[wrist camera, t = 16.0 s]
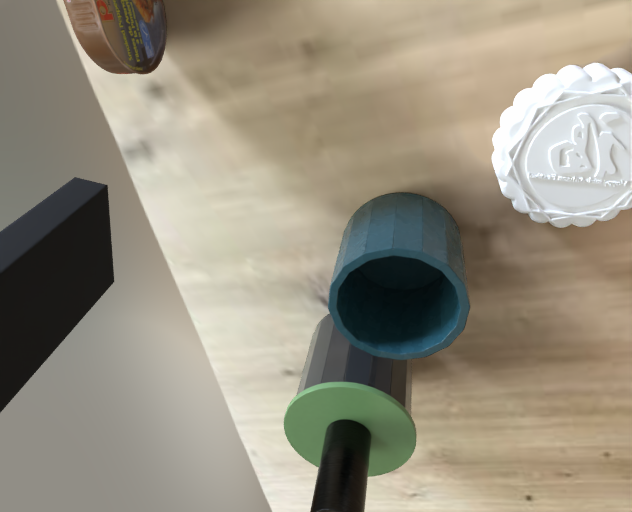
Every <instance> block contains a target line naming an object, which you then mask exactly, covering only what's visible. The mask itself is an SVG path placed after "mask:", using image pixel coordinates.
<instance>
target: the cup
mask: <svg viewBox="0 0 632 512" xmlns="http://www.w3.org/2000/svg"><path fill="white" fill-rule="evenodd" d="M328 382H352V383H358V384H363V385H367V386H370V387H373V388H375V389H378V390H380V391H382V392H384V393H386V394H388V395H390V396H391V397H393V398H394V399H395V400H397V401H398V402H399V403H400V404H401V405H403V407H404V408H405V409H406V410H407V411H408V413H409V414H410V416H411V393H412V359H407V360H395V359H389V358H383V357H377V356H373V355H371V354H369V353H367V352H365V351H363V350H361V349H359V348H357V347H355V346H353V345H352V344H351V343H350V342H349V341H348V340H347V339H346V338H345V337H344V336H343V335H342V334H341V333H340V332H339V331H338V330H337V329H336V327H335V324H334V322H333V319H332V317H331V314H328V315H327V316H325V317H324V318H323V319H322V320H321V321H320V322H319V324H318V325H317V327H316V329H315V332H314V333H313V336H312V340H311V343H310V347H309V351H308V355H307V358H306V362H305V366H304V369H303V373H302V377H301V381H300V384H299V388H298V392H297V395H298V394H299V393H300V392H302V391H304V390H305V389H307V388H310V387H312V386H315V385H318V384H322V383H328ZM297 395H296V396H297Z"/></svg>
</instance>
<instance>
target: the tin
mask: <svg viewBox="0 0 632 512" xmlns="http://www.w3.org/2000/svg"><path fill="white" fill-rule="evenodd" d="M64 4H65V6H66V9H67V12H68V16H69V18H70V21H71V24H72V27H73V30H74V32H75V34H76V37H77V39H78V41H79V42H80V44H81V46H82V47H83V49H84V50H85V52H86V53H87V55H88V56H89V57H90V58H91V59H92V60H93V61H94V62H95V63H96V64H97V65H98V66H99V67H101V68H102V69H104V70H106V71H108V72H111V73H116V74H131V73H138V74H148V73H151V72H152V71H154V70H155V69H156V68H157V67H158V65H159V64H160V62H161V60H162V57H163V54H164V51H165V46H166V37H167V29H166V17H165V11H164V6H163V1H162V0H64Z"/></svg>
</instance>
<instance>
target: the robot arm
mask: <svg viewBox="0 0 632 512" xmlns="http://www.w3.org/2000/svg"><path fill="white" fill-rule="evenodd" d="M113 282H114V273H113V258H112V244H111V230H110V216H109V201H108V187H107V185H104V184H100V183H96V182H92V181H88V180H84V179H80V178H76V177H75V178H73V179H72V180H71V181H69V182H68V183H67V184H65V185H64V186H62V187H61V188H60V189H58V190H57V191H56V192H54V193H53V194H51V195H50V196H49V197H47V198H46V199H45V200H43V201H42V202H41V203H39V204H38V205H36V206H35V207H34V208H32V209H31V210H30V211H28V212H27V213H25V214H24V215H23V216H21V217H20V218H19V219H17V220H16V221H14V222H13V223H12V224H10V225H9V226H8V227H6V228H5V229H4V230H2V231H1V232H0V412H1V411H2V410H3V409H4V408H5V407H6V405H7V404H8V403H9V402H10V401H11V400H12V398H13V397H14V396H15V395H16V394H17V393H18V392H19V390H20V389H21V388H22V387H23V386H24V385H25V383H26V382H27V381H28V380H29V379H30V378H31V377H32V375H33V374H34V373H35V372H36V371H37V370H38V369H39V367H40V366H41V365H42V364H43V363H44V362H45V361H46V359H47V358H48V357H49V356H50V355H51V354H52V353H53V351H54V350H55V349H56V348H57V347H58V346H59V344H60V343H61V342H62V341H63V340H64V339H65V337H66V336H67V335H68V334H69V333H70V332H71V331H72V330H73V328H74V327H75V326H76V325H77V324H78V323H79V321H80V320H81V319H82V318H83V317H84V316H85V315H86V313H87V312H88V311H89V310H90V309H91V307H93V305H94V304H95V303H96V302H97V301H98V300H99V299H100V297H101V296H102V295H103V294H104V293H105V292H106V290H107V289H108V288H109V287H110V286H111V285H112V284H113Z"/></svg>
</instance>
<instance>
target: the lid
mask: <svg viewBox="0 0 632 512" xmlns="http://www.w3.org/2000/svg"><path fill="white" fill-rule="evenodd" d="M284 430H285V434H286V437H287V439H288V441H289V442H290V444H291V446H292V447H293V448H294V449H295V451H296V452H297V453H298V454H299V455H301V456H302V457H303V458H304V459H306V460H307V461H309V462H310V463H312V464H313V465H315V466H317V467H319V470H318V475H317V480H316V485H315V491H314V496H313V501H312V506H311V512H364V509H365V499H366V489H367V478H368V477H370V476H377V475H382V474H385V473H389V472H391V471H393V470H395V469H397V468H399V467H400V466H402V465H403V464H404V463H406V462H407V460H408V459H409V458H410V457H411V455H412V454H413V452H414V449H415V446H416V428H415V424H414V421H413V419H412V417H411V416H410V414H409V413H408V411H407V410H406V409H405V408H404V407H403V405H401V404H400V403H399V402H398V401H397V400H395V399H394V398H393V397H391V396H390V395H388V394H386V393H384V392H382V391H380V390H378V389H375V388H373V387H370V386H367V385H363V384H358V383H352V382H328V383H322V384H318V385H315V386H312V387H310V388H307V389H305V390H304V391H302V392H300V393H299V394H298V395H297V396H295V397H294V399H293V400H292V401H291V402H290V404H289V406H288V408H287V411H286V414H285V417H284Z"/></svg>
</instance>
